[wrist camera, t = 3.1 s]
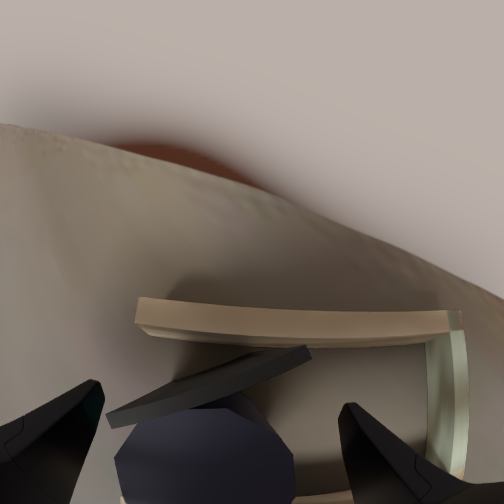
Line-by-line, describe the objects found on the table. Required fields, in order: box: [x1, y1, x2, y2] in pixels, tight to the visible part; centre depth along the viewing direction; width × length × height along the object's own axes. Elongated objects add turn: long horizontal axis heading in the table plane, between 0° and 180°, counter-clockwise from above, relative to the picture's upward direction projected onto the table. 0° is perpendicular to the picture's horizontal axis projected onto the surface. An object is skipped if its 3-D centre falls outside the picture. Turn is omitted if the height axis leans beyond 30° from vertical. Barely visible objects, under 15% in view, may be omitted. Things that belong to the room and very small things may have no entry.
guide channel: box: [121, 297, 469, 504], centre depth 12 cm, size 13×20×3 cm, turn 87°
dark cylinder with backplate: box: [105, 344, 312, 504], centre depth 9 cm, size 8×6×10 cm
